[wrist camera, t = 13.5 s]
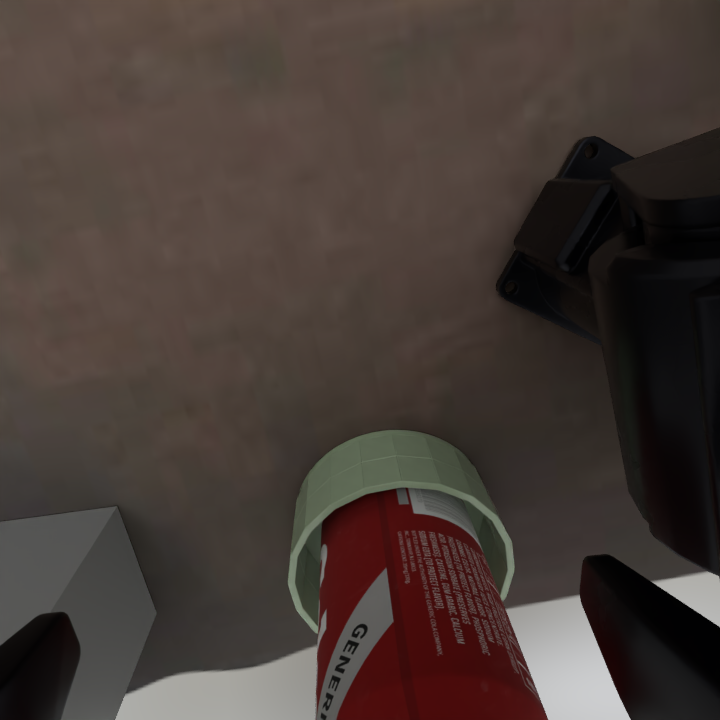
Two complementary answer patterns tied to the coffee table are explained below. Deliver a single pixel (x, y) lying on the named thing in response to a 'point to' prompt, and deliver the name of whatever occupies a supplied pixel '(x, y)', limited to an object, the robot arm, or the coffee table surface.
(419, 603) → the soda can
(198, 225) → the coffee table surface
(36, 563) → the perfume bottle
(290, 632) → the coffee table surface
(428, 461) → the crock
